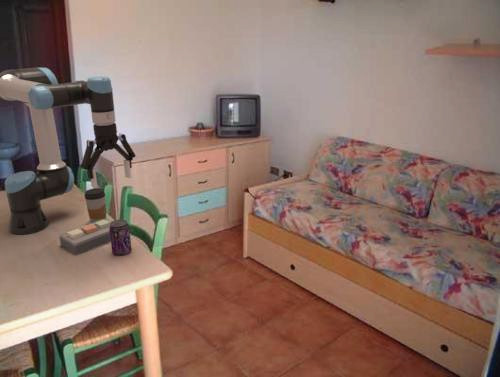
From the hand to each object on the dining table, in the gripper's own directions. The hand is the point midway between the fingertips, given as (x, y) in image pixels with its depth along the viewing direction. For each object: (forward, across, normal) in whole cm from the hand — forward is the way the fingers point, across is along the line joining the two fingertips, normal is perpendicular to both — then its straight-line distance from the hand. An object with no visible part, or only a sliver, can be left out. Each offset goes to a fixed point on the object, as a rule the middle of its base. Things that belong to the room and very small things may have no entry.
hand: (111, 182), depth 159 cm
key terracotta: (+24, -4, +15) cm, 29 cm away
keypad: (+27, -4, +15) cm, 31 cm away
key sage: (+24, +2, +15) cm, 29 cm away
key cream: (+24, -9, +15) cm, 30 cm away
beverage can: (+28, 0, -2) cm, 28 cm away
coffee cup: (+28, +8, +28) cm, 40 cm away
